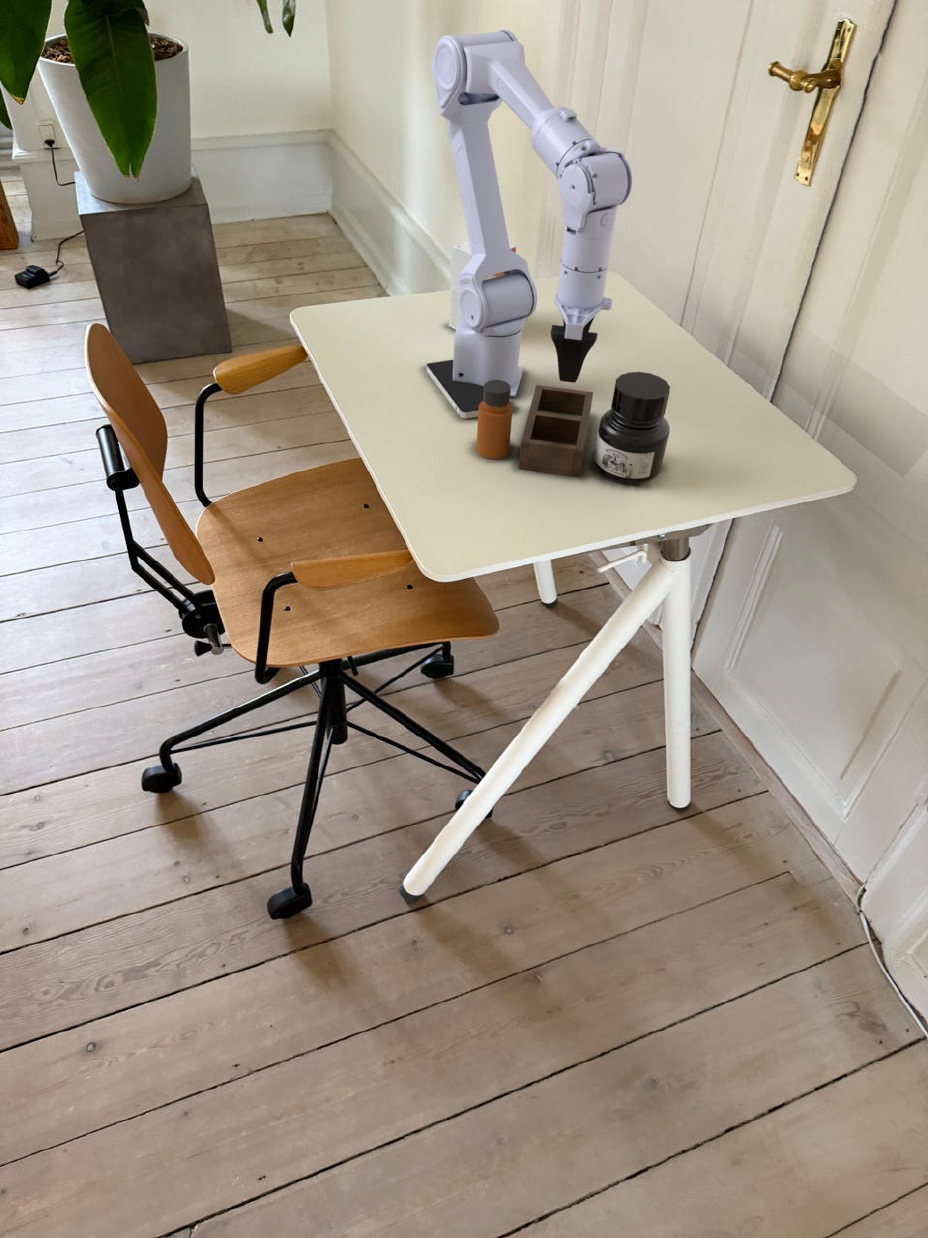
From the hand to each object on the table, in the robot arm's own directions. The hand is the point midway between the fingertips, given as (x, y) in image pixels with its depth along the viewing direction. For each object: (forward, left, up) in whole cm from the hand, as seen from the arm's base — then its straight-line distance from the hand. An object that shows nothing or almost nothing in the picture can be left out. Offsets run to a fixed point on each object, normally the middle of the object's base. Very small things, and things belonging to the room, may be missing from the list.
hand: (570, 366), depth 121 cm
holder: (-1, -2, -10) cm, 11 cm away
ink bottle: (+9, -6, -10) cm, 15 cm away
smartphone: (-15, +9, -11) cm, 20 cm away
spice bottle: (-9, -6, -10) cm, 15 cm away
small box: (-17, +29, -10) cm, 35 cm away
